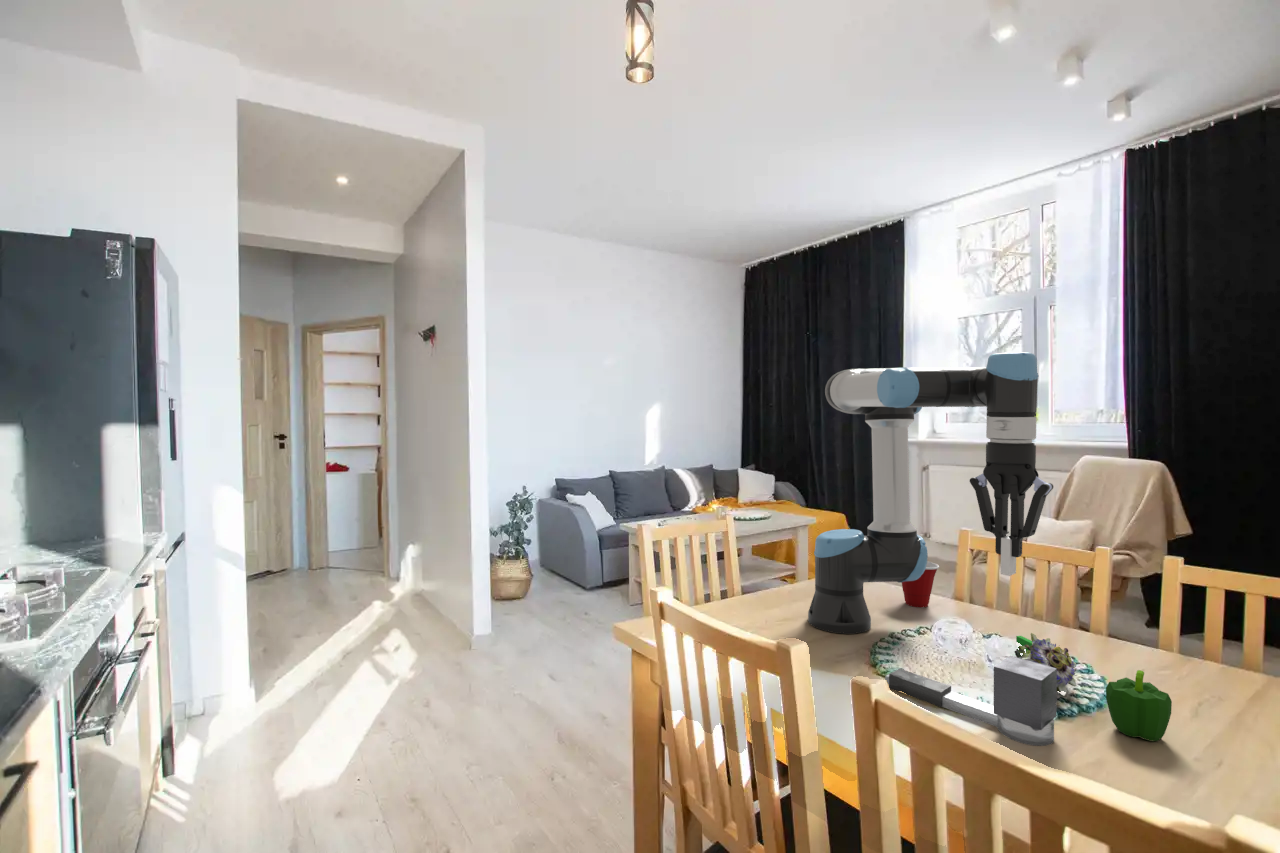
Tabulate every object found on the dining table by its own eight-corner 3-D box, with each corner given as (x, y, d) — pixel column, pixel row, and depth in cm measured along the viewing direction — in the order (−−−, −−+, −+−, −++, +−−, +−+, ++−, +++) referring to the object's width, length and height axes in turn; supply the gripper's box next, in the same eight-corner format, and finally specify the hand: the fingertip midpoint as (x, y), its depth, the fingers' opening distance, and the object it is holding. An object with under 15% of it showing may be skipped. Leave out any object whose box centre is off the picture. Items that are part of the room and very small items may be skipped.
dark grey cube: (993, 713, 102) (993, 666, 102) (1010, 700, 107) (1010, 655, 106) (1041, 730, 97) (1041, 680, 97) (1056, 716, 101) (1056, 668, 101)
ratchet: (878, 689, 118) (878, 653, 118) (900, 677, 123) (900, 643, 123) (1043, 751, 96) (1043, 707, 96) (1061, 734, 101) (1061, 692, 101)
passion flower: (1060, 722, 115) (1053, 684, 110) (1002, 690, 125) (993, 653, 119) (1091, 680, 119) (1085, 641, 114) (1033, 651, 128) (1025, 614, 123)
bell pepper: (1153, 752, 96) (1153, 689, 95) (1096, 727, 103) (1096, 669, 103) (1183, 740, 99) (1183, 679, 99) (1125, 717, 107) (1126, 660, 106)
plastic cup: (946, 610, 164) (946, 566, 164) (906, 610, 164) (906, 566, 164) (928, 598, 175) (928, 556, 174) (890, 598, 175) (890, 556, 175)
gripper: (962, 440, 110) (960, 569, 111) (1044, 444, 100) (1041, 586, 101) (981, 438, 115) (979, 562, 116) (1061, 441, 104) (1058, 577, 105)
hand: (1008, 573), depth 108 cm, fingers closed
